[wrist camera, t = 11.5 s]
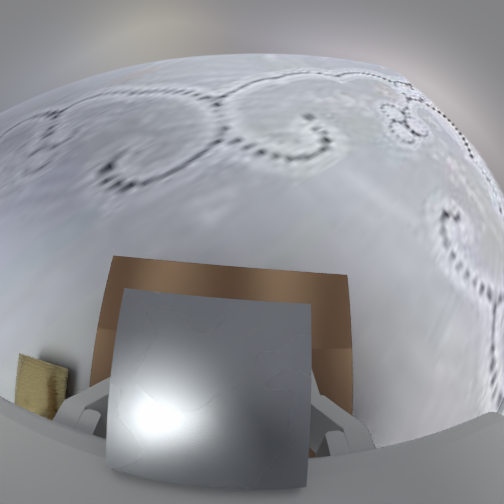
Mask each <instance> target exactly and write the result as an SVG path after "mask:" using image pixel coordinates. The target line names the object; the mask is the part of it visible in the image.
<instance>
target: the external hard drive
mask: <svg viewBox="0 0 504 504" xmlns="http://www.w3.org/2000/svg"><path fill="white" fill-rule="evenodd" d="M497 413H498V414H501V415H503V416H504V398H503V401H502V403H501V405H500V408H499V410H498V412H497Z"/></svg>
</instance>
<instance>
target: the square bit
mask: <svg viewBox="0 0 504 504" xmlns="http://www.w3.org/2000/svg"><path fill="white" fill-rule="evenodd" d="M311 371H312V338H311V304H304V303H284V302H268V301H253V300H239V299H226V298H214V297H203V296H192V295H182V294H172V293H163V292H154V291H146V290H137V289H129V288H124V293H123V298H122V303H121V308H120V314H119V319H118V325H117V331H116V338H115V345H114V352H113V360H112V368H111V377H110V387H109V399H108V413H107V435H106V468H108V469H112V470H115V471H119V472H122V473H126V474H130V475H134V476H139V477H143V478H148V479H153V480H158V481H163V482H169V483H175V484H182V485H190V486H198V487H208V488H221V489H245V490H266V489H290V488H303V487H306V485H307V472H308V457H309V440H310V416H311Z"/></svg>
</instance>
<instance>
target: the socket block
mask: <svg viewBox="0 0 504 504" xmlns="http://www.w3.org/2000/svg"><path fill="white" fill-rule="evenodd" d="M124 288H129V289H137V290H146V291H154V292H163V293H172V294H182V295H192V296H203V297H214V298H226V299H239V300H253V301H268V302H284V303H304V304H311V338H312V371H313V375H314V378H315V381H316V384H317V387H318V390H319V393H320V395H324V396H326V397H327V398H328V399H330V400H331V401H332V402H334V403H335V404H336V405H338V406H339V407H340V408H342V409H343V410H345V411H346V412H347V413H349V414H350V415H352V398H353V372H352V336H351V317H350V302H349V289H348V278H347V275H341V274H326V273H312V272H298V271H284V270H271V269H258V268H245V267H233V266H221V265H209V264H198V263H186V262H175V261H164V260H153V259H143V258H133V257H122V256H113V259H112V263H111V267H110V271H109V275H108V280H107V284H106V288H105V293H104V297H103V302H102V307H101V312H100V317H99V323H98V328H97V334H96V340H95V347H94V354H93V361H92V369H91V377H90V387H91V386H93V385H95V384H97V383H99V382H101V381H103V380H105V379H107V378H109V377H111V368H112V360H113V352H114V345H115V338H116V331H117V325H118V319H119V314H120V308H121V303H122V298H123V293H124ZM314 456H315V452H314V451H313V450H312V449H311V448H310V447H309V457H308V458H314Z"/></svg>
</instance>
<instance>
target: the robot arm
mask: <svg viewBox="0 0 504 504" xmlns="http://www.w3.org/2000/svg"><path fill="white" fill-rule="evenodd" d="M109 387H110V377H109V378H107V379H105V380H103V381H101V382H99V383H97V384H95V385H93V386H91V387H89V388H87V389H85V390H84V391H82V392H80V393H78V394H76V395H74V396H72V397H70V398H68V399H66V400H64V401H63V403H62V405H61V406H60V408H59V410H58V412H57V413H56V415H55V417H54V418H53V420H50V419H47V418H45V417H42V416H40V415H38V414H35V413H33V412H31V411H29V410H27V409H25V408H22V407H20V406H18V405H16V404H14V403H12V402H10V401H8V400H6V399H5V398H3V397H1V396H0V504H504V416H503V415H501V414H498V413H495V412H488V413H486V414H483V415H481V416H479V417H476V418H474V419H472V420H469V421H467V422H464V423H462V424H459V425H457V426H454V427H451V428H449V429H446V430H443V431H440V432H437V433H434V434H431V435H427V436H424V437H421V438H417V439H414V440H410V441H406V442H403V443H399V444H395V445H390V446H386V447H381V448H376V447H375V445H374V442H373V440H372V438H371V435H370V433H369V430H368V428H367V426H366V425H364V424H363V423H361V422H360V421H359V420H357V419H356V418H354V417H353V416H352V415H350V414H349V413H347V412H346V411H345V410H343V409H342V408H340V407H339V406H338V405H336V404H335V403H334V402H332V401H331V400H330V399H328V398H327V397H326V396H324V395H320V393H319V390H318V387H317V384H316V381H315V378H314V375H313V371H311V416H310V440H309V447H310V448H311V449H312V450H313V451H314V452H315V456H314V458H308V472H307V485H306V487H303V488H290V489H266V490H245V489H221V488H208V487H198V486H190V485H182V484H175V483H169V482H163V481H158V480H153V479H148V478H143V477H139V476H134V475H130V474H126V473H122V472H119V471H115V470H112V469H108V468H106V435H107V413H108V399H109Z"/></svg>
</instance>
